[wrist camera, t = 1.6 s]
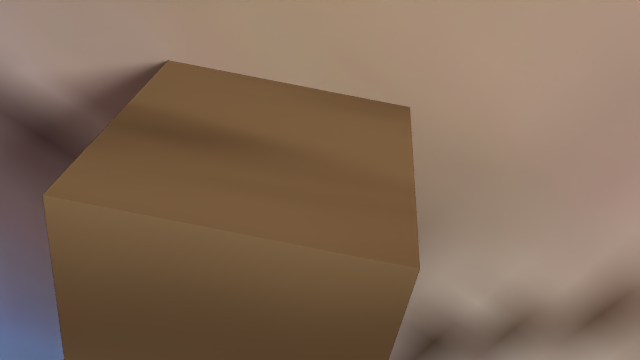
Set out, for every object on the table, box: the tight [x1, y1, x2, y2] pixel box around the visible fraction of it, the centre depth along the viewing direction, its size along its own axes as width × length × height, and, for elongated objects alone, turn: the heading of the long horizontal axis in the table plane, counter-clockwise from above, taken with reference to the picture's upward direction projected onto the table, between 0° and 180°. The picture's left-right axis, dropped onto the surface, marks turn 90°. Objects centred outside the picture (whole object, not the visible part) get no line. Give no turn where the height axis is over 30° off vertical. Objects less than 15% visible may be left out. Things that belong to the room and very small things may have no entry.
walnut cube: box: [43, 60, 420, 360], centre depth 11 cm, size 5×5×5 cm
